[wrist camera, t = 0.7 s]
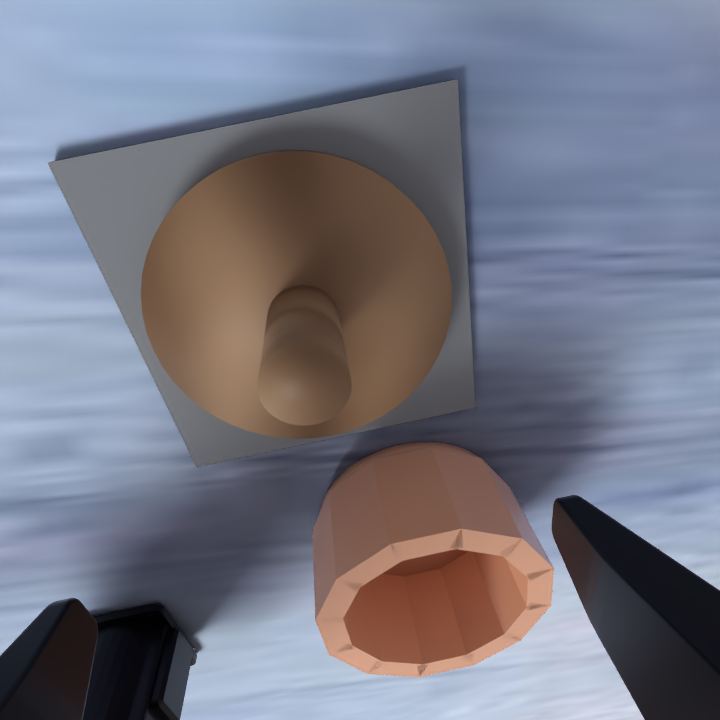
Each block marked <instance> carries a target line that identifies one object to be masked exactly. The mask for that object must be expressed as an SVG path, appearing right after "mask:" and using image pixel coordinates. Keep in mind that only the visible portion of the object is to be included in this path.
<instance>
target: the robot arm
mask: <svg viewBox="0 0 720 720" xmlns="http://www.w3.org/2000/svg"><path fill="white" fill-rule="evenodd" d="M552 533H553V537H554V540H555V542H556V544H557V547H558V549H559V551H560V554H561V556H562V558H563V561H564V563H565V565H566V567H567V570H568V572H569V574H570V577H571V579H572V581H573V583H574V586H575V588H576V590H577V593H578V595H579V597H580V600H581V602H582V604H583V606H584V609H585V611H586V613H587V615H588V617H589V620H590V622H591V624H592V625H593V627H594V629H595V631H596V633H597V635H598V637H599V639H600V640H601V642H602V644H603V646H604V647H605V649H606V651H607V653H608V655H609V656H610V658H611V660H612V662H613V664H614V665H615V667H616V669H617V671H618V673H619V674H620V676H621V678H622V680H623V681H624V683H625V685H626V687H627V689H628V690H629V692H630V694H631V696H632V698H633V699H634V701H635V703H636V705H637V707H638V708H639V710H640V712H641V714H642V715H643V717H644V719H645V720H720V590H718V589H717V588H715V587H714V586H712V585H711V584H709V583H708V582H706V581H705V580H703V579H702V578H700V577H699V576H697V575H696V574H694V573H693V572H691V571H690V570H688V569H687V568H685V567H684V566H682V565H681V564H680V563H678V562H677V561H675V560H674V559H672V558H671V557H669V556H668V555H666V554H665V553H663V552H662V551H660V550H659V549H657V548H656V547H654V546H653V545H651V544H650V543H648V542H647V541H645V540H644V539H642V538H641V537H639V536H638V535H636V534H635V533H633V532H632V531H630V530H629V529H628V528H626V527H625V526H623V525H622V524H620V523H619V522H617V521H616V520H614V519H613V518H611V517H610V516H608V515H607V514H605V513H604V512H602V511H601V510H599V509H598V508H596V507H595V506H593V505H592V504H590V503H589V502H587V501H586V500H584V499H583V498H581V497H579V496H577V495H571V496H566V497H561V498H557V499H556V500H555V501H554V506H553V517H552ZM196 658H197V654H196V653H195V651H194V650H193V648H192V647H191V645H190V644H189V643H188V641H187V640H186V638H185V637H184V635H183V634H182V632H181V631H180V629H179V628H178V627H177V625H176V624H175V622H174V621H173V619H172V618H171V616H170V615H169V613H168V612H167V611H166V609H165V608H164V607H163V606H162V605H159V604H153V605H148V606H144V607H139V608H134V609H130V610H125V611H121V612H116V613H111V614H107V615H102V616H98V617H93V616H92V615H91V614H90V613H89V611H88V610H87V609H86V608H85V607H84V605H83V604H82V603H81V602H80V601H79V600H78V599H76V598H70V599H65V600H60V601H56V602H53V603H51V604H50V605H49V606H47V607H46V608H45V609H44V610H43V611H42V612H41V613H40V614H39V616H38V617H37V618H36V619H35V620H34V621H33V622H32V623H31V624H30V625H29V626H28V627H27V628H26V629H25V630H24V631H23V632H22V633H21V635H20V636H19V637H18V638H17V639H16V640H15V641H14V642H13V643H12V644H11V645H10V646H9V647H8V648H7V649H6V650H5V651H4V652H3V654H2V655H1V656H0V720H180V716H181V711H182V706H183V701H184V696H185V690H186V685H187V680H188V675H189V670H190V666H192V665H194V664H195V663H196Z"/></svg>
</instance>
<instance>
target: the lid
mask: <svg viewBox="0 0 720 720" xmlns="http://www.w3.org/2000/svg"><path fill="white" fill-rule="evenodd" d="M141 304H142V315H143V319H144V323H145V328H146V332H147V335H148V338H149V340H150V343H151V345H152V348H153V350H154V352H155V354H156V356H157V358H158V359H159V361H160V363H161V365H162V367H163V368H164V370H165V371H166V372H167V374H168V375H169V376H170V378H171V379H172V380H173V382H174V383H175V384H176V385H177V386H178V387H179V388H180V389H181V390H182V391H183V392H184V393H185V394H186V395H187V396H188V397H189V398H190V399H191V400H193V401H194V402H195V403H196V404H197V405H199V406H200V407H201V408H203V409H204V410H206V411H207V412H209V413H210V414H212V415H214V416H215V417H217V418H219V419H221V420H223V421H225V422H227V423H229V424H231V425H233V426H236V427H239V428H241V429H244V430H247V431H250V432H254V433H258V434H262V435H266V436H273V437H279V438H294V439H304V438H319V437H325V436H331V435H336V434H340V433H343V432H347V431H351V430H353V429H356V428H358V427H361V426H364V425H366V424H368V423H370V422H372V421H374V420H376V419H378V418H380V417H382V416H383V415H385V414H386V413H388V412H389V411H391V410H392V409H394V408H395V407H397V406H398V405H399V404H400V403H401V402H403V401H404V400H405V399H406V398H407V397H408V396H409V395H410V394H411V393H412V392H413V391H414V390H415V389H416V388H417V387H418V386H419V385H420V384H421V382H422V381H423V380H424V378H425V377H426V376H427V374H428V373H429V372H430V370H431V368H432V367H433V365H434V363H435V361H436V360H437V358H438V356H439V354H440V351H441V349H442V346H443V344H444V342H445V339H446V335H447V331H448V327H449V324H450V316H451V309H452V286H451V279H450V272H449V267H448V264H447V261H446V257H445V254H444V251H443V248H442V246H441V244H440V242H439V240H438V237H437V235H436V233H435V231H434V230H433V228H432V227H431V225H430V224H429V222H428V221H427V219H426V217H425V216H424V215H423V214H422V212H421V211H420V210H419V209H418V208H417V207H416V205H415V204H414V203H413V202H412V201H411V200H410V199H409V198H408V197H407V196H406V195H405V194H403V193H402V192H401V191H400V190H399V189H398V188H397V187H395V186H394V185H393V184H392V183H391V182H390V181H388V180H387V179H385V178H384V177H382V176H381V175H379V174H377V173H376V172H374V171H373V170H371V169H369V168H367V167H365V166H363V165H361V164H358V163H356V162H354V161H352V160H349V159H346V158H342V157H339V156H336V155H333V154H329V153H322V152H316V151H309V150H280V151H273V152H265V153H260V154H257V155H253V156H249V157H246V158H242V159H239V160H237V161H235V162H233V163H231V164H228V165H226V166H224V167H222V168H220V169H218V170H217V171H215V172H214V173H212V174H210V175H209V176H207V177H206V178H204V179H203V180H201V181H200V182H199V183H198V184H196V185H195V186H194V187H193V188H192V189H191V190H189V191H188V192H187V193H186V194H185V195H184V196H183V197H182V198H180V199H179V201H178V202H177V203H176V204H175V205H174V207H173V208H172V209H171V210H170V211H169V213H168V214H167V215H166V216H165V218H164V220H163V221H162V223H161V225H160V226H159V228H158V230H157V231H156V233H155V235H154V237H153V240H152V242H151V245H150V247H149V250H148V252H147V255H146V259H145V264H144V268H143V273H142V283H141Z"/></svg>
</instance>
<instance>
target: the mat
mask: <svg viewBox="0 0 720 720" xmlns="http://www.w3.org/2000/svg"><path fill="white" fill-rule="evenodd" d="M280 150H309V151H316V152H322V153H329V154H333V155H336V156H339V157H342V158H346V159H349V160H352V161H354V162H356V163H358V164H361V165H363V166H365V167H367V168H369V169H371V170H373V171H374V172H376V173H377V174H379V175H381V176H382V177H384V178H385V179H387V180H388V181H390V182H391V183H392V184H393V185H394V186H395V187H397V188H398V189H399V190H400V191H401V192H402V193H403V194H405V195H406V196H407V197H408V198H409V199H410V200H411V201H412V202H413V203H414V204H415V205H416V207H417V208H418V209H419V210H420V211H421V212H422V214H423V215H424V216H425V217H426V219H427V221H428V222H429V224H430V225H431V227H432V228H433V230H434V231H435V233H436V235H437V237H438V240H439V242H440V244H441V246H442V248H443V251H444V254H445V257H446V261H447V264H448V267H449V272H450V279H451V286H452V309H451V316H450V324H449V327H448V331H447V335H446V339H445V342H444V344H443V346H442V349H441V351H440V354H439V356H438V358H437V360H436V361H435V363H434V365H433V367H432V368H431V370H430V372H429V373H428V374H427V376H426V377H425V378H424V380H423V381H422V382H421V384H420V385H419V386H418V387H417V388H416V389H415V390H414V391H413V392H412V393H411V394H410V395H409V396H408V397H407V398H406V399H405V400H404V401H403V402H401V403H400V404H399V405H398V406H397V407H395V408H394V409H392V410H391V411H389V412H388V413H386V414H385V415H383V416H382V417H380V418H378V419H376V420H374V421H372V422H370V423H368V424H366V425H364V426H361V427H358V428H356V429H353V430H351V431H347V432H343V433H340V434H336V435H331V436H325V437H319V438H304V439H294V438H279V437H273V436H266V435H262V434H258V433H254V432H250V431H247V430H244V429H241V428H239V427H236V426H233V425H231V424H229V423H227V422H225V421H223V420H221V419H219V418H217V417H215V416H214V415H212V414H210V413H209V412H207V411H206V410H204V409H203V408H201V407H200V406H199V405H197V404H196V403H195V402H194V401H193V400H191V399H190V398H189V397H188V396H187V395H186V394H185V393H184V392H183V391H182V390H181V389H180V388H179V387H178V386H177V385H176V384H175V383H174V382H173V380H172V379H171V378H170V376H169V375H168V374H167V372H166V371H165V370H164V368H163V367H162V365H161V363H160V361H159V359H158V358H157V356H156V354H155V352H154V350H153V348H152V345H151V343H150V340H149V338H148V335H147V332H146V328H145V323H144V319H143V315H142V304H141V283H142V273H143V268H144V264H145V259H146V255H147V252H148V250H149V247H150V245H151V242H152V240H153V237H154V235H155V233H156V231H157V230H158V228H159V226H160V225H161V223H162V221H163V220H164V218H165V216H166V215H167V214H168V213H169V211H170V210H171V209H172V208H173V207H174V205H175V204H176V203H177V202H178V201H179V199H180V198H182V197H183V196H184V195H185V194H186V193H187V192H188V191H189V190H191V189H192V188H193V187H194V186H195V185H196V184H198V183H199V182H200V181H201V180H203V179H204V178H206V177H207V176H209V175H210V174H212V173H214V172H215V171H217V170H218V169H220V168H222V167H224V166H226V165H228V164H231V163H233V162H235V161H237V160H239V159H242V158H246V157H249V156H253V155H257V154H260V153H265V152H273V151H280ZM48 164H49V167H50V169H51V171H52V173H53V175H54V177H55V179H56V181H57V183H58V185H59V187H60V189H61V191H62V193H63V195H64V197H65V199H66V201H67V203H68V205H69V207H70V209H71V211H72V213H73V216H74V218H75V220H76V222H77V224H78V226H79V228H80V230H81V232H82V234H83V236H84V238H85V240H86V242H87V244H88V246H89V248H90V250H91V252H92V254H93V256H94V258H95V260H96V262H97V265H98V267H99V269H100V271H101V273H102V275H103V277H104V279H105V281H106V283H107V285H108V287H109V289H110V291H111V293H112V295H113V297H114V299H115V301H116V303H117V305H118V307H119V309H120V311H121V314H122V316H123V318H124V320H125V322H126V324H127V326H128V328H129V330H130V332H131V334H132V336H133V338H134V340H135V342H136V344H137V346H138V348H139V350H140V352H141V354H142V356H143V358H144V360H145V363H146V365H147V367H148V369H149V371H150V373H151V375H152V377H153V379H154V381H155V383H156V385H157V387H158V389H159V391H160V393H161V395H162V397H163V399H164V401H165V403H166V405H167V407H168V409H169V412H170V414H171V416H172V418H173V420H174V422H175V424H176V426H177V428H178V430H179V432H180V434H181V436H182V438H183V440H184V442H185V444H186V446H187V448H188V450H189V452H190V454H191V456H192V458H193V461H194V463H195V465H196V467H201V466H206V465H210V464H215V463H220V462H225V461H229V460H234V459H239V458H243V457H248V456H253V455H257V454H262V453H267V452H271V451H276V450H281V449H285V448H290V447H295V446H299V445H304V444H309V443H313V442H318V441H323V440H327V439H332V438H337V437H341V436H346V435H351V434H356V433H360V432H365V431H370V430H374V429H379V428H384V427H388V426H393V425H398V424H402V423H407V422H412V421H416V420H421V419H426V418H430V417H435V416H440V415H444V414H449V413H454V412H458V411H463V410H468V409H473V408H476V407H475V388H474V370H473V351H472V333H471V314H470V296H469V277H468V259H467V240H466V222H465V203H464V185H463V166H462V148H461V129H460V111H459V92H458V79H455V80H450V81H445V82H440V83H435V84H430V85H425V86H420V87H416V88H411V89H406V90H401V91H396V92H391V93H386V94H381V95H376V96H371V97H367V98H362V99H357V100H352V101H347V102H342V103H337V104H332V105H327V106H322V107H318V108H313V109H308V110H303V111H298V112H293V113H288V114H283V115H278V116H273V117H269V118H264V119H259V120H254V121H249V122H244V123H239V124H234V125H229V126H224V127H220V128H215V129H210V130H205V131H200V132H195V133H190V134H185V135H180V136H175V137H171V138H166V139H161V140H156V141H151V142H146V143H141V144H136V145H131V146H126V147H122V148H117V149H112V150H107V151H102V152H97V153H92V154H87V155H82V156H77V157H73V158H68V159H63V160H58V161H53V162H49V163H48Z"/></svg>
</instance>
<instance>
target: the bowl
mask: <svg viewBox="0 0 720 720" xmlns="http://www.w3.org/2000/svg"><path fill="white" fill-rule="evenodd" d="M313 559H314V591H315V621H316V623H317V626H318V628H319V631H320V633H321V636H322V638H323V641H324V643H325V646H326V648H327V651H328V653H329V655H331V656H333V657H335V658H337V659H339V660H341V661H343V662H345V663H347V664H349V665H351V666H353V667H355V668H357V669H359V670H361V671H363V672H365V673H367V674H378V675H393V676H409V677H422V676H427V675H431V674H436V673H440V672H445V671H449V670H454V669H458V668H463V667H467V666H472V665H475V664H477V663H479V662H481V661H482V660H484V659H486V658H488V657H490V656H492V655H494V654H496V653H497V652H499V651H501V650H503V649H505V648H507V647H509V646H510V645H512V644H514V643H516V642H518V641H520V640H521V639H522V638H523V637H524V636H525V635H526V634H527V632H528V631H529V630H530V629H531V628H532V627H533V626H534V624H535V623H536V622H537V621H538V620H539V619H540V617H541V616H542V615H543V614H544V613H545V612H546V611H547V609H548V608H549V607H550V606H551V599H552V585H553V572H554V568H553V566H552V564H551V562H550V560H549V559H548V557H547V555H546V553H545V551H544V549H543V548H542V546H541V544H540V542H539V540H538V538H537V537H536V535H535V533H534V531H533V529H532V527H531V526H530V524H529V522H528V520H527V518H526V516H525V515H524V513H523V511H522V509H521V507H520V505H519V504H518V502H517V500H516V498H515V496H514V494H513V493H512V491H511V489H510V487H509V486H508V485H507V484H506V483H505V482H504V481H503V480H502V479H501V478H500V477H499V476H498V475H497V474H496V473H495V472H494V471H493V470H492V469H491V468H490V466H489V465H488V464H487V463H486V462H485V461H484V460H483V459H482V458H480V457H479V456H477V455H475V454H474V453H472V452H470V451H468V450H466V449H463V448H461V447H458V446H454V445H451V444H445V443H439V442H413V443H406V444H400V445H396V446H392V447H388V448H385V449H383V450H380V451H377V452H375V453H372V454H370V455H368V456H366V457H364V458H362V459H361V460H359V461H358V462H356V463H355V464H353V465H351V466H350V467H349V468H348V469H347V470H345V471H344V472H343V473H342V474H341V475H340V476H339V477H338V478H337V479H336V480H335V481H334V482H333V484H332V485H331V486H330V488H329V489H328V491H327V493H326V495H325V497H324V499H323V501H322V504H321V507H320V514H319V516H318V518H317V521H316V523H315V525H314V527H313Z"/></svg>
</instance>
